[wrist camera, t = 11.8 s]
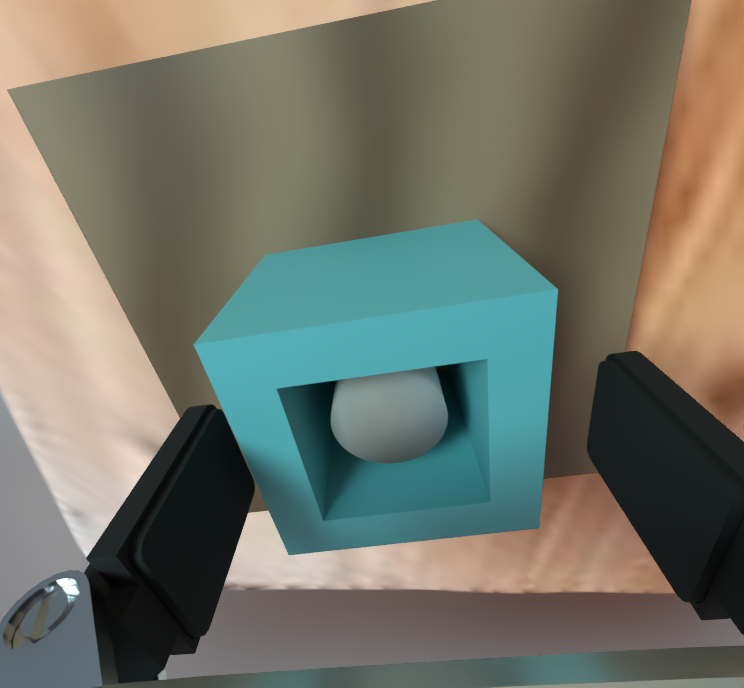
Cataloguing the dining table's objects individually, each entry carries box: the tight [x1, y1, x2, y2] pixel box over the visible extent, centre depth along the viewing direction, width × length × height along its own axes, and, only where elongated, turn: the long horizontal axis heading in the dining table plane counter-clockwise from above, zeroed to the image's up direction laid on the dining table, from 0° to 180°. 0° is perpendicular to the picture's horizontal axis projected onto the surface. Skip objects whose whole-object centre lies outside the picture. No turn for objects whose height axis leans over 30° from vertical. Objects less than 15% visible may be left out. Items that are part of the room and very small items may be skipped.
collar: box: [194, 219, 558, 555], centre depth 12 cm, size 7×7×6 cm
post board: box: [7, 0, 691, 513], centre depth 13 cm, size 18×18×6 cm
